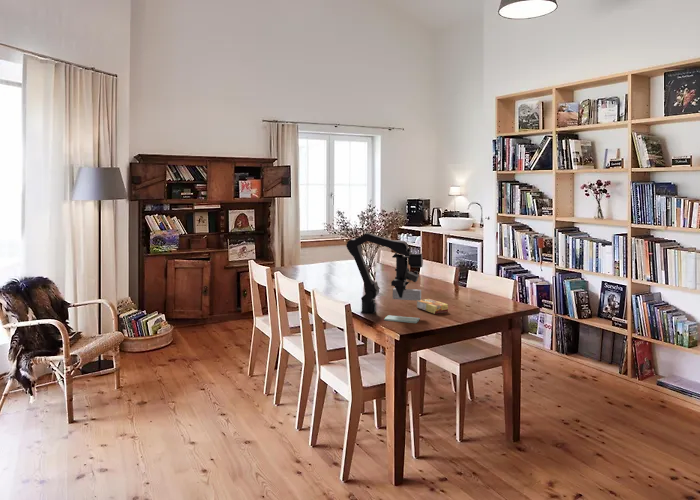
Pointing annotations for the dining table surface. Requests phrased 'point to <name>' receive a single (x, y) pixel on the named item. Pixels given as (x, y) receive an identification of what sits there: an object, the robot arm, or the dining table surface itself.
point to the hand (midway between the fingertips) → (401, 296)
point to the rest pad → (402, 319)
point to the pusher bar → (408, 294)
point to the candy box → (432, 306)
